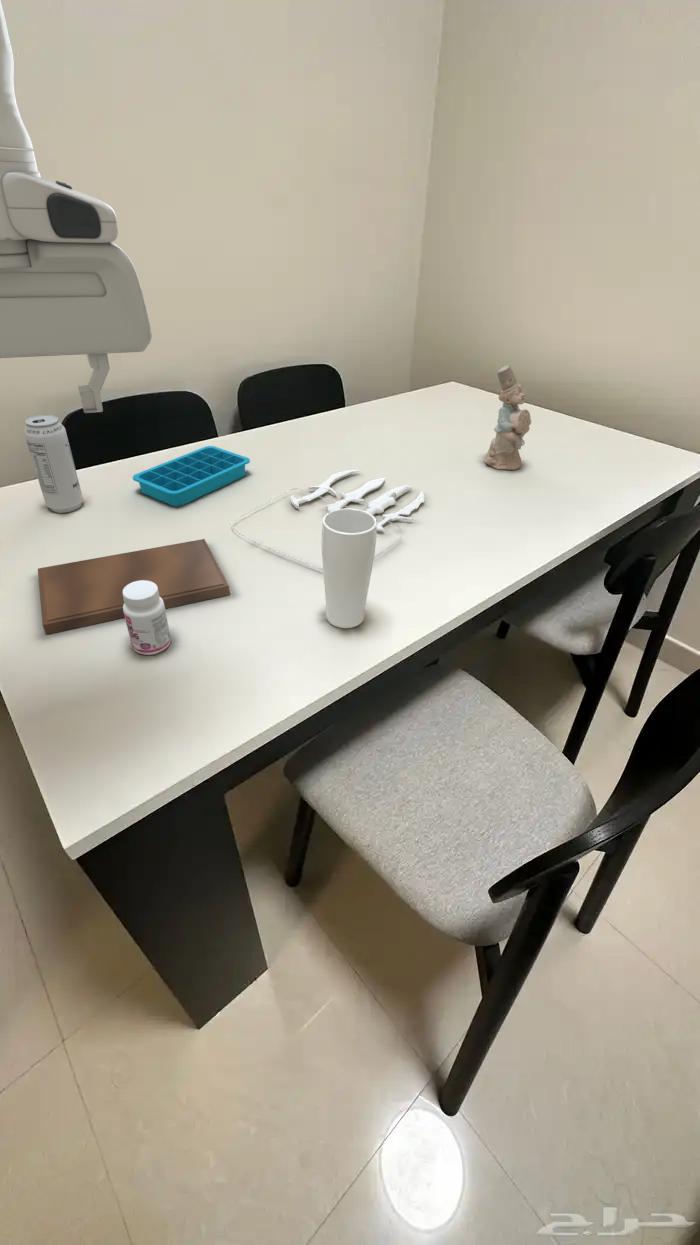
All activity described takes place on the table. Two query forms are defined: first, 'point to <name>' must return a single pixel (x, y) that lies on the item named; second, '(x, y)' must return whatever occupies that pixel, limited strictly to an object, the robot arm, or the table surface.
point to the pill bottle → (145, 617)
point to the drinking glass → (347, 564)
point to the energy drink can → (53, 463)
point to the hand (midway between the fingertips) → (30, 415)
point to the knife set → (355, 496)
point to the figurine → (509, 424)
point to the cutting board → (126, 583)
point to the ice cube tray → (191, 475)
